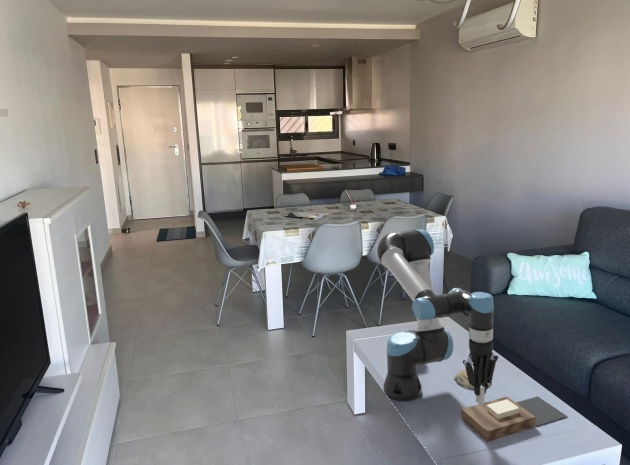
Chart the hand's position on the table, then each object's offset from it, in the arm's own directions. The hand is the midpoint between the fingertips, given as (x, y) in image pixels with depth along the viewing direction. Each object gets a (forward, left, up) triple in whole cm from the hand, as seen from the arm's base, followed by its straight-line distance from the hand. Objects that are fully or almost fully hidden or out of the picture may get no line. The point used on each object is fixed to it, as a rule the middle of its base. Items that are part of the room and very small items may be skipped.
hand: (479, 402), depth 164 cm
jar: (+6, +54, -11) cm, 56 cm away
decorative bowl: (+18, +27, -11) cm, 35 cm away
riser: (+8, 0, -10) cm, 13 cm away
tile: (+10, 0, -6) cm, 12 cm away
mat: (+26, 0, -10) cm, 28 cm away
